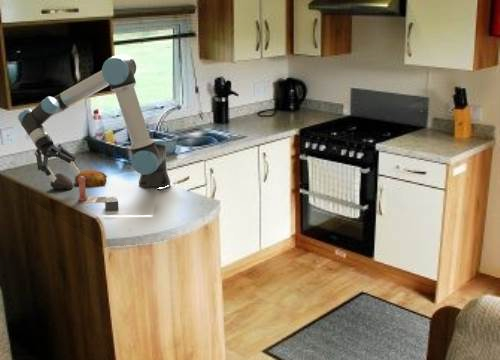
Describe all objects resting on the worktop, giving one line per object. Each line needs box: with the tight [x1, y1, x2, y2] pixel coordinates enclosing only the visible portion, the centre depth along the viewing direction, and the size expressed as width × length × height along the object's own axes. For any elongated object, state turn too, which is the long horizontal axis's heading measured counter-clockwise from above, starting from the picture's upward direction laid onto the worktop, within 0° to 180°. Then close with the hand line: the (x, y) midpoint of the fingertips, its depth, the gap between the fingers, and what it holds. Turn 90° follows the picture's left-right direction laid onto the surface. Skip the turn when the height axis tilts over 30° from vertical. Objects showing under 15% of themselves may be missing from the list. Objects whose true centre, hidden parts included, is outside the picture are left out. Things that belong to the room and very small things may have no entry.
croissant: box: [74, 169, 108, 188], centre depth 301 cm, size 14×16×8 cm
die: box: [104, 197, 119, 212], centre depth 263 cm, size 5×5×5 cm
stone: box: [50, 173, 74, 190], centre depth 293 cm, size 10×8×10 cm
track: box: [76, 196, 117, 204], centre depth 275 cm, size 16×8×1 cm, turn 94°
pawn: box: [78, 176, 88, 201], centre depth 273 cm, size 4×4×11 cm
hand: (66, 177), depth 277 cm, fingers open, 13 cm apart
